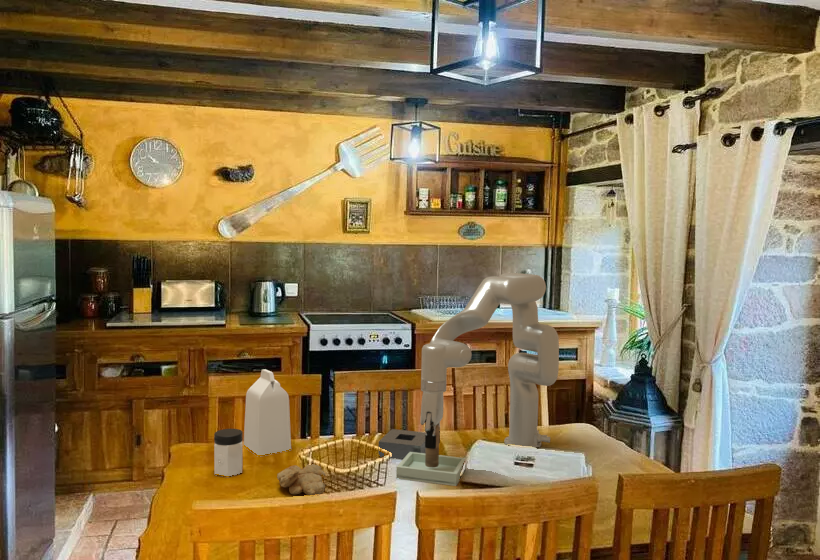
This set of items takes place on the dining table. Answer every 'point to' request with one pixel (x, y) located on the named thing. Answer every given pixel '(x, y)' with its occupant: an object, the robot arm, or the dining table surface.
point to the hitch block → (402, 443)
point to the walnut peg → (433, 452)
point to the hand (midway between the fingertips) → (432, 445)
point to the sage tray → (430, 469)
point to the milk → (267, 416)
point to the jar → (228, 452)
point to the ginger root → (302, 479)
